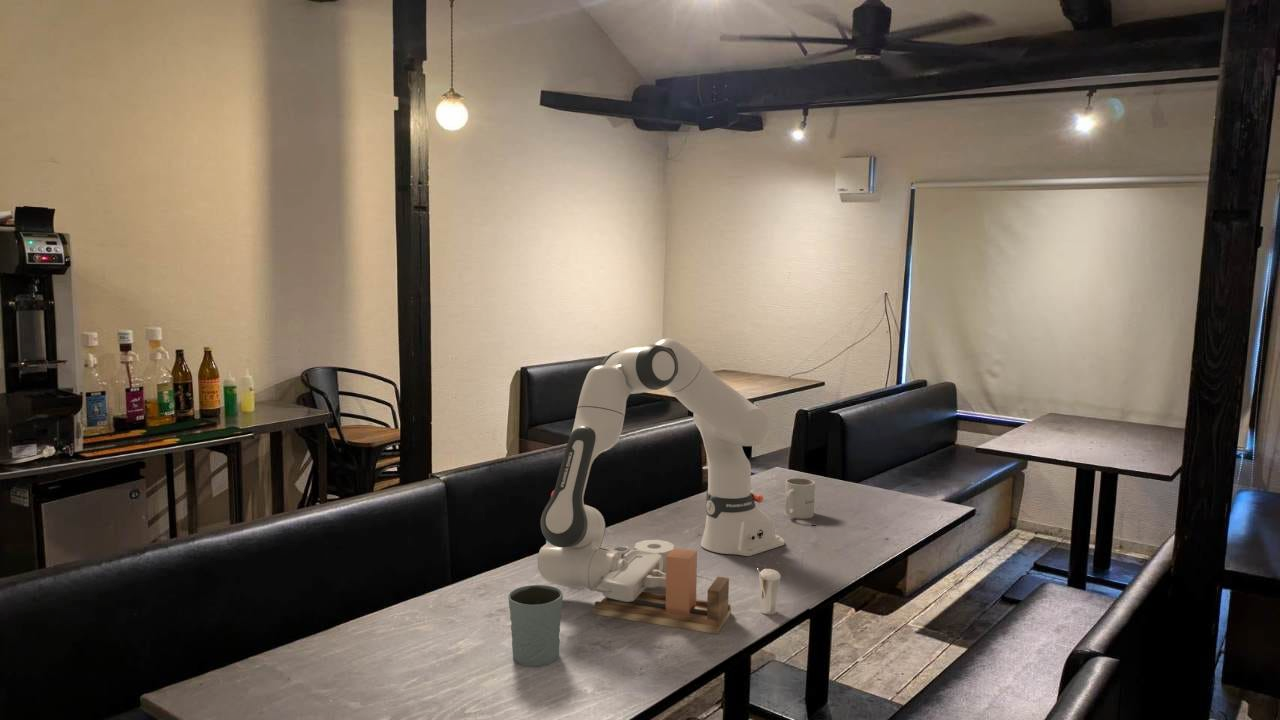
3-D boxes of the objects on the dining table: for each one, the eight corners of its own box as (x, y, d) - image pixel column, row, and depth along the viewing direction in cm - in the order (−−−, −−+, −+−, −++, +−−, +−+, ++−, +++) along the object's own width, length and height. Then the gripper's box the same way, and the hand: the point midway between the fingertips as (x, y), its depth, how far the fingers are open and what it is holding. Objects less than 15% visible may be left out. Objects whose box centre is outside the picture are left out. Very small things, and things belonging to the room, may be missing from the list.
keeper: (665, 612, 174) (666, 556, 173) (673, 602, 179) (674, 548, 178) (688, 616, 172) (689, 559, 171) (696, 606, 177) (697, 551, 176)
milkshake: (750, 610, 180) (751, 564, 179) (772, 606, 182) (773, 561, 181) (761, 618, 175) (763, 572, 174) (783, 614, 178) (785, 568, 176)
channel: (593, 613, 177) (593, 576, 176) (612, 595, 187) (613, 559, 186) (717, 634, 168) (718, 594, 167) (731, 613, 178) (731, 575, 177)
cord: (605, 600, 181) (605, 595, 181) (606, 598, 182) (606, 594, 182) (712, 616, 173) (712, 612, 173) (713, 615, 174) (713, 610, 174)
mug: (797, 508, 256) (798, 476, 255) (819, 515, 250) (820, 482, 249) (770, 515, 249) (771, 482, 247) (792, 522, 242) (794, 488, 241)
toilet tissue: (614, 576, 198) (615, 541, 197) (670, 574, 200) (670, 539, 199) (620, 591, 189) (620, 554, 188) (678, 588, 192) (678, 551, 191)
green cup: (516, 672, 151) (516, 608, 150) (502, 648, 160) (502, 588, 159) (570, 662, 155) (570, 599, 154) (553, 640, 164) (553, 580, 163)
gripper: (589, 574, 171) (653, 583, 166) (625, 543, 190) (684, 551, 185) (589, 603, 171) (653, 614, 167) (625, 570, 190) (683, 578, 186)
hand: (669, 580), depth 176 cm, fingers closed, pressing on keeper
